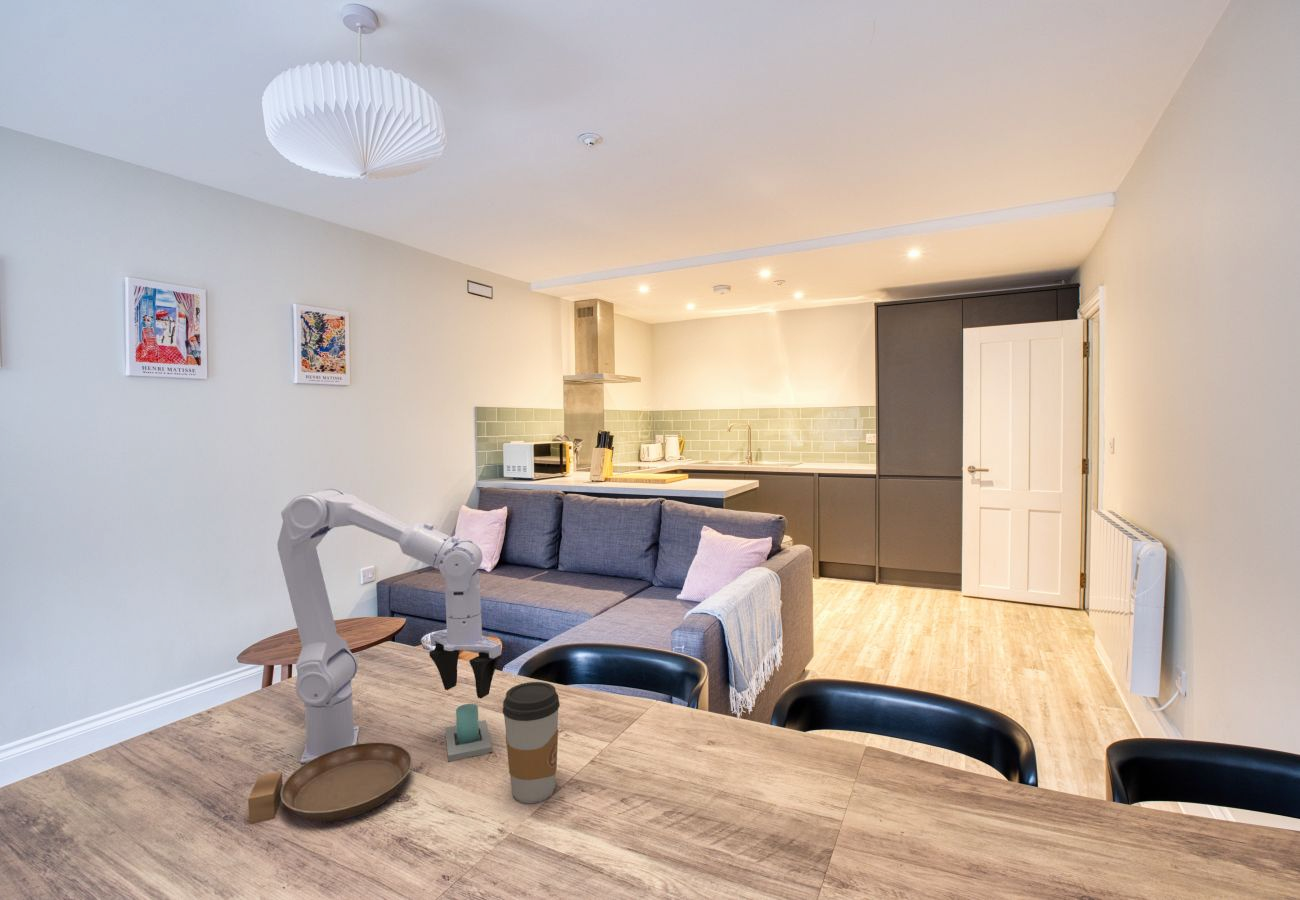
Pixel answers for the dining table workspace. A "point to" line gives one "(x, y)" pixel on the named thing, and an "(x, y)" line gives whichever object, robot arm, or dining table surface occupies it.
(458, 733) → the dowel
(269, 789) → the stop block
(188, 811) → the dining table surface
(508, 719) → the coffee cup
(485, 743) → the socket block
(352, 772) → the plant saucer
